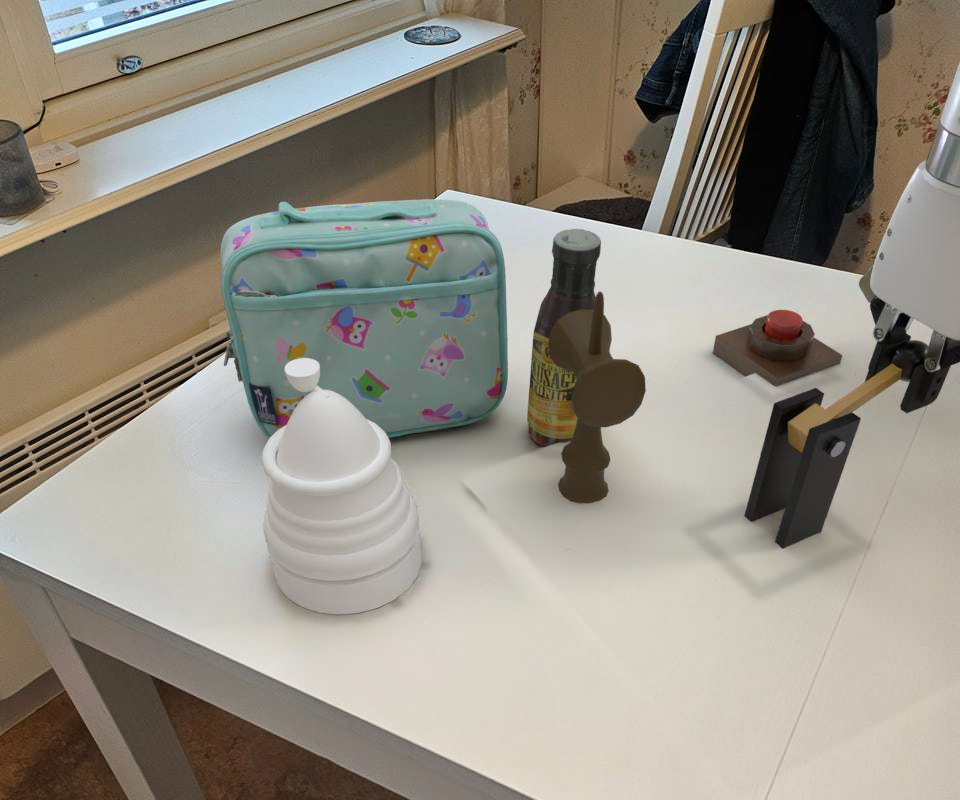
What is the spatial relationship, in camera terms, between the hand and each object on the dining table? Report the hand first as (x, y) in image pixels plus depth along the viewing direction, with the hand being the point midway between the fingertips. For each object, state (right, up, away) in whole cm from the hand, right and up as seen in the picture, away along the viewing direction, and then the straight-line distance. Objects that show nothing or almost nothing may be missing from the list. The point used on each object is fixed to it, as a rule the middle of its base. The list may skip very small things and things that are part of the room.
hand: (897, 393), depth 74 cm
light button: (-2, +12, +22) cm, 25 cm away
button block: (-2, +10, +24) cm, 26 cm away
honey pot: (-46, -14, +4) cm, 48 cm away
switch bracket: (-8, -11, +5) cm, 15 cm away
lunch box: (-45, +2, +18) cm, 49 cm away
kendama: (-25, -7, +9) cm, 28 cm away
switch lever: (-3, -2, -1) cm, 4 cm away
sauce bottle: (-27, 0, +16) cm, 31 cm away
